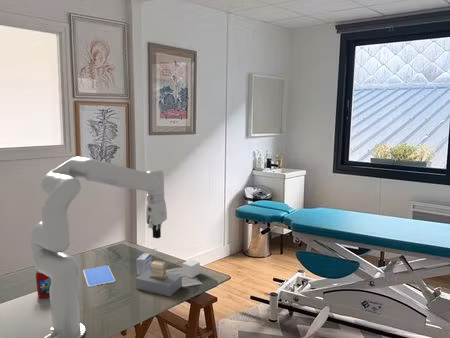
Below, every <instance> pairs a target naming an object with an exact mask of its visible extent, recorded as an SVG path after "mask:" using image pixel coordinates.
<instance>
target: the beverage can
mask: <svg viewBox="0 0 450 338" xmlns="http://www.w3.org/2000/svg"><path fill="white" fill-rule="evenodd" d="M36 270H37V269H36ZM51 282H52V280H51V278H50V277H48V276H46V275H45V274H43V273H41V272H39V271H38V270H37V271H36V273H35V283H36V290H37V296H38V297H39V298H43V299H45V298H50V286H51Z"/></svg>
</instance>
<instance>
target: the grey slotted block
mask: <svg viewBox="0 0 450 338" xmlns="http://www.w3.org/2000/svg"><path fill="white" fill-rule="evenodd" d="M182 279H183V277H182V275H178V274H175V273H168V272H166V279H165V280H163V281H162V280H157V279H153V278H151V270H150V269H148V270H147V271H145V272H144V273H142V274H141V275H140V276H136V277H135V289H137V290H141V291H145V292H150V293H153V294H158V295H162V296H167V297H171V296H172V295H173V294H174V293H176V292H177V291H178V290H179V289H180V288H182V287H183V281H182Z"/></svg>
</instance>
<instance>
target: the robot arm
mask: <svg viewBox="0 0 450 338" xmlns="http://www.w3.org/2000/svg"><path fill="white" fill-rule="evenodd" d="M164 176H165V175H164V171H163V170H162V169H157V168H156V169H155V168H154V169H153V168H152V169H149V170H144V171H143V170H137V169H133V168H130V167H126V166H123V165H119V164H116V163H111V162H107V161H102V160H99V159H95V158H89V157H83V156H82V157H81V156H75V157H72V158H70V159H69V160H67V161H65V162H64V163H62V164H60V165H59V166H57V167H56V168H53V169H52V170H50V171H49V172H48V173H45V175H44V176H43V178H42V179H41V183H40V186H41V189H42V191H43V193H44V194H46V195H47V197H46V200H45V201H44V202H43V205H42V206H41V207H42V208H41V221H40V222H37V224H35V225H34V226H33V228H32V230H31V233H30V244H31V249H32V250H31V251H32V257H33V263H34V266H35V268H36V270H38V271H39V272H41V273H43V274H45V275H46V276H48V277H50V278H51V280H52V282H51V286H50V296H49V300H50V301H49V302H50V312H51V313H50V314H51V321H52V322H51V323H52V327H50V332H49V333H48V335H45V336H44V337H43V338H82V337H83V336H85V334H86V326H85V325H84V324H83V323H81V317H80V316H81V314H80V303H79V291H78V276H79V263H78V261H77V260H76V258H74V257H73V256H72V255H71V254H68V253H65V252H66V251H67V250H68V249H69V248H70V246H71V241H72V240H71V239H72V238H71V237H72V236H71V231H70V229H71V228H70V225H69V215H68V214H69V213H68V212H69V209H70V206H71V204H72V203H73V201H74V200H75V199H76V198H77V197H78V196H79V194H80V192H81V187H82V186H81V182H80V180H81V181H86V182H89V183H95V184H101V185H105V186H112V187H116V188H123V189H131V190H137V191H143V192H146V202H147V203H146V210H145V211H146V212H145V214H146V216H145V217H146V220H145V221H146V224H147V225H148V229H151V230H152V238H154V239H160V238H161V237H162V236H161V235H162V233H161V231H162V224H163V223H164V222H165V221H166V220H168V219H167V218H168V213H167V212H168V211H167V203H166V200H165V184H164V183H165V180H164V179H165V177H164Z"/></svg>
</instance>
